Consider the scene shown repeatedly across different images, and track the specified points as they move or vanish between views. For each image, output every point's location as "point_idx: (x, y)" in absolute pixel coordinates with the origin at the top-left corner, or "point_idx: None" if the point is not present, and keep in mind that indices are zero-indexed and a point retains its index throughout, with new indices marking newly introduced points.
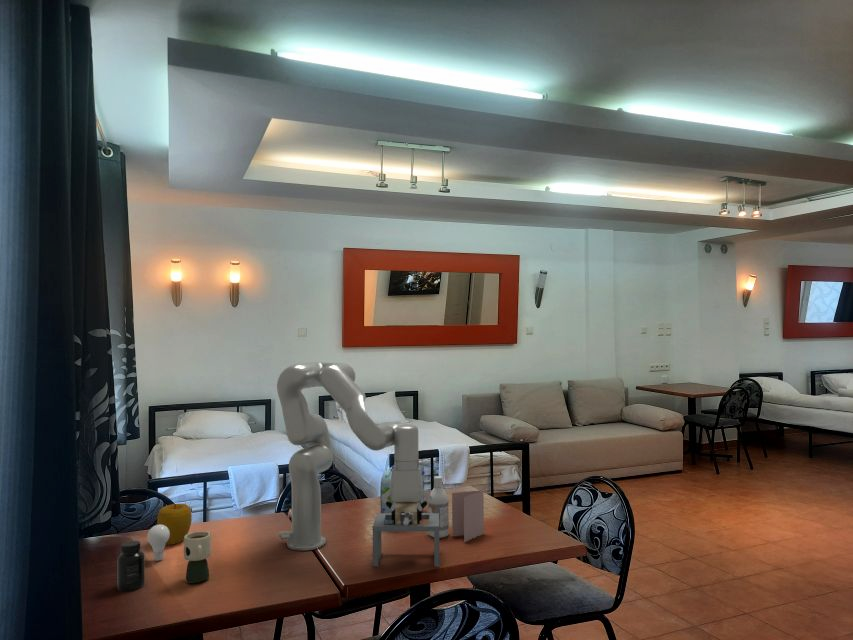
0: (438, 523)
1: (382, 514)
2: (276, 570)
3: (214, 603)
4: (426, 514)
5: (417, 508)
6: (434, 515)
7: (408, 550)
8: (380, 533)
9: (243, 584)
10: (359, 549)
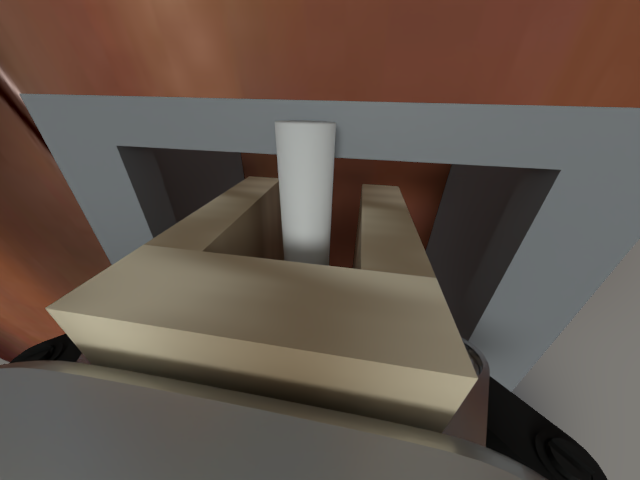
0: (524, 371)
1: (86, 135)
2: (34, 237)
3: (58, 334)
4: (527, 158)
5: (422, 257)
6: (608, 202)
7: (346, 96)
8: (188, 167)
9: (37, 288)
10: (142, 77)
